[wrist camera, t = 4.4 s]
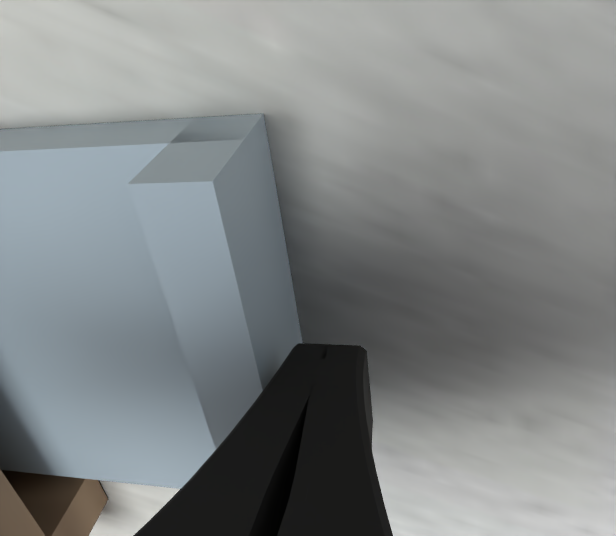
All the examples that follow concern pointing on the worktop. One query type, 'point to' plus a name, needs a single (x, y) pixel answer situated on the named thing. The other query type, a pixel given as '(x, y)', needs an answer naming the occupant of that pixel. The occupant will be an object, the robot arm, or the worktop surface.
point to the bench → (48, 504)
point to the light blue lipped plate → (137, 294)
